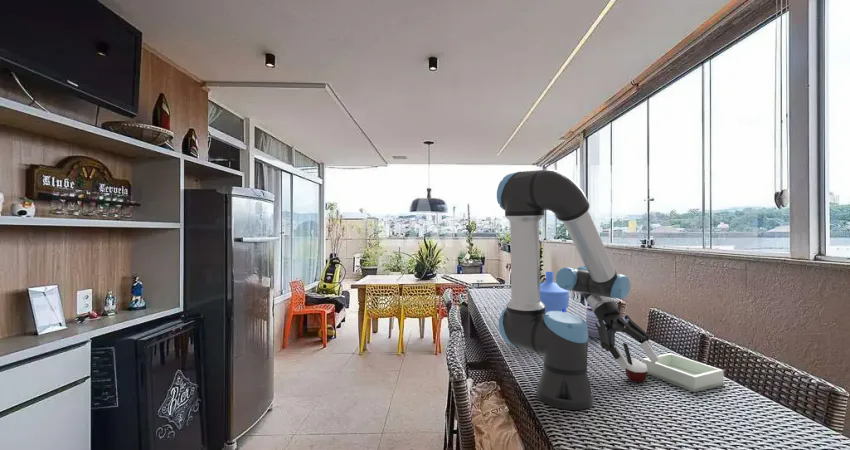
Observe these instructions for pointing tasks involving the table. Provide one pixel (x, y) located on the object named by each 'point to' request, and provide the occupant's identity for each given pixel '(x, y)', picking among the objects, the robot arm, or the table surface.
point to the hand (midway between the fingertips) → (641, 364)
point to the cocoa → (635, 367)
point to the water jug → (553, 295)
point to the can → (591, 322)
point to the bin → (685, 372)
